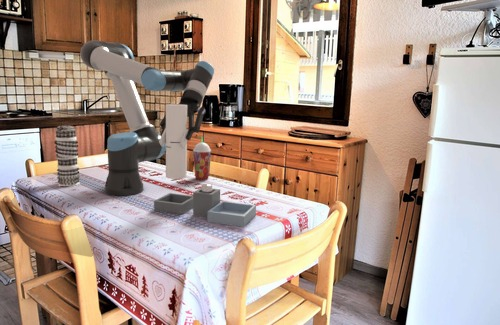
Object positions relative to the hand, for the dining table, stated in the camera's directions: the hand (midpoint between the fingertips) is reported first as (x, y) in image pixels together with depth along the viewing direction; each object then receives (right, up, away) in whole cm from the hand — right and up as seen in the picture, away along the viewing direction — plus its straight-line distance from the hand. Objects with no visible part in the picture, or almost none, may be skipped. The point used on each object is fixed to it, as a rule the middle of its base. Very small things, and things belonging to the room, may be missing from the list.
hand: (171, 145), depth 131 cm
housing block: (+12, -23, +3) cm, 26 cm away
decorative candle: (-51, -15, +35) cm, 64 cm away
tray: (+21, -24, -1) cm, 32 cm away
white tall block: (+1, -11, +6) cm, 12 cm away
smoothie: (+4, -14, +52) cm, 54 cm away
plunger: (+12, -17, +2) cm, 21 cm away
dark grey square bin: (0, -22, +8) cm, 23 cm away
